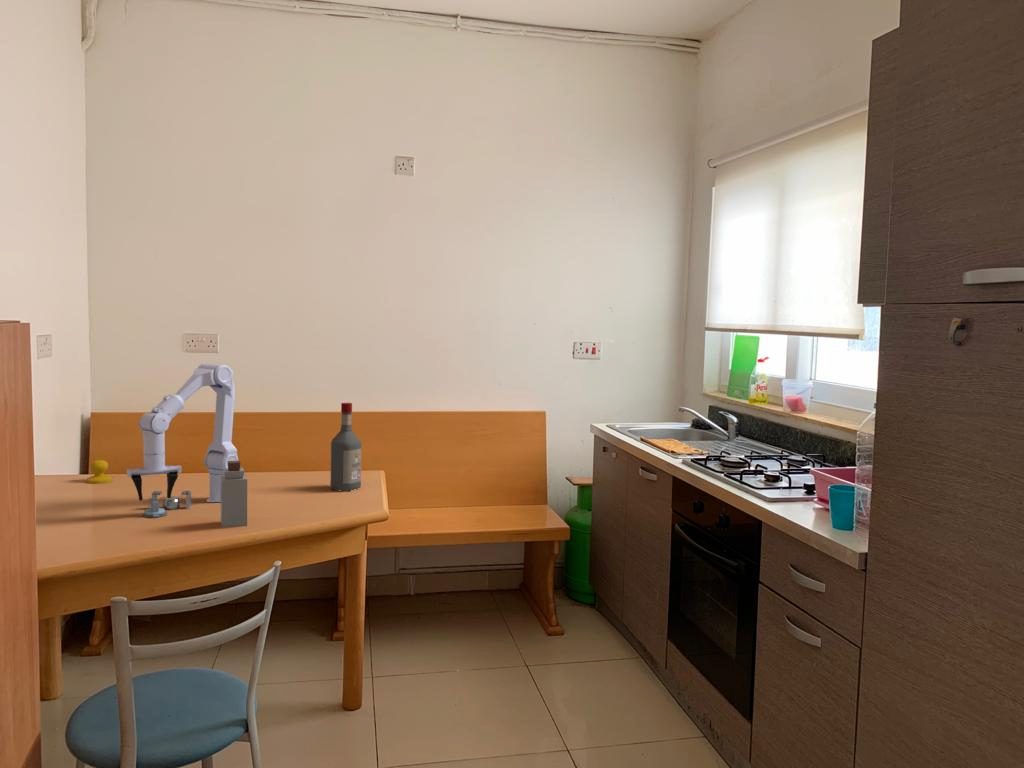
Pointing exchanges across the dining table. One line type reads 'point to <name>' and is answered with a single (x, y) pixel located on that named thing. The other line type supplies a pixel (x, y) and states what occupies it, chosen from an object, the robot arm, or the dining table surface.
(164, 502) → the metal ball with blocks
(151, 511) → the cap
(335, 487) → the liquor
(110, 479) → the doorknob
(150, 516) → the pad
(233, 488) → the perfume bottle
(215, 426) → the robot arm
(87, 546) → the dining table surface
